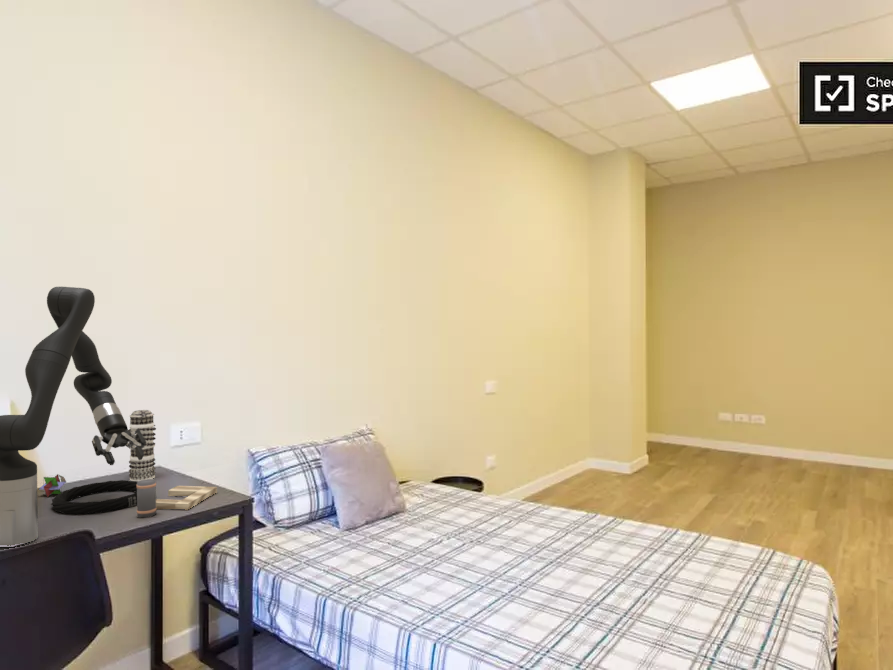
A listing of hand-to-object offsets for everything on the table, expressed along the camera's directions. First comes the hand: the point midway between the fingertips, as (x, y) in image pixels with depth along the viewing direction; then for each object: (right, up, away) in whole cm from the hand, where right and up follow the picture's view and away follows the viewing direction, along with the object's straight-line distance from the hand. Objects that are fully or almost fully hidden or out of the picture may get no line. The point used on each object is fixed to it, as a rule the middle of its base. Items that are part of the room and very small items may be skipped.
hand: (127, 460), depth 176 cm
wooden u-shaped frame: (+14, -14, +7) cm, 21 cm away
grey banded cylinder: (+9, -15, -6) cm, 19 cm away
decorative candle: (-13, -14, +33) cm, 38 cm away
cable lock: (-10, -15, +7) cm, 19 cm away
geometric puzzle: (-32, -14, +13) cm, 37 cm away
